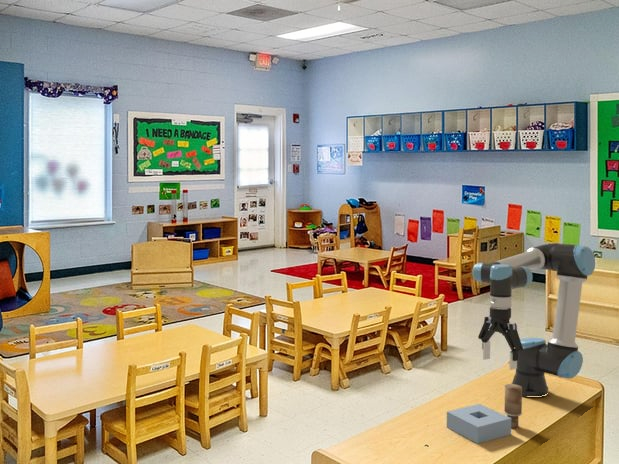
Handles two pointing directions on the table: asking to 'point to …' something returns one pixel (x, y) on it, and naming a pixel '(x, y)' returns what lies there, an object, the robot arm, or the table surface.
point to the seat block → (479, 423)
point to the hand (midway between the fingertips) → (499, 363)
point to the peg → (513, 403)
